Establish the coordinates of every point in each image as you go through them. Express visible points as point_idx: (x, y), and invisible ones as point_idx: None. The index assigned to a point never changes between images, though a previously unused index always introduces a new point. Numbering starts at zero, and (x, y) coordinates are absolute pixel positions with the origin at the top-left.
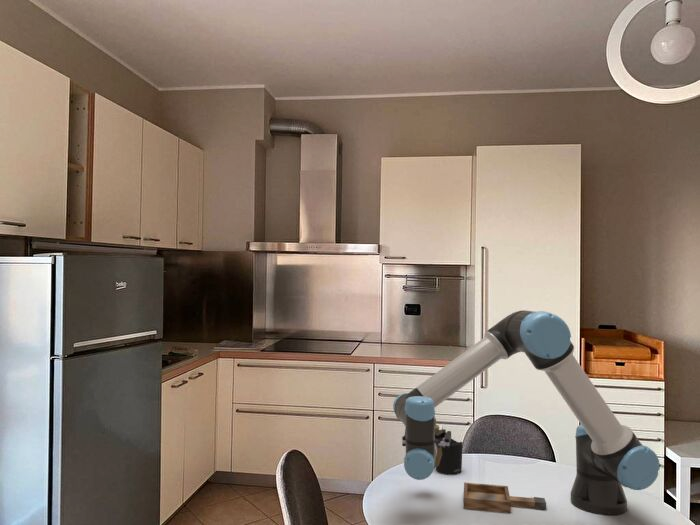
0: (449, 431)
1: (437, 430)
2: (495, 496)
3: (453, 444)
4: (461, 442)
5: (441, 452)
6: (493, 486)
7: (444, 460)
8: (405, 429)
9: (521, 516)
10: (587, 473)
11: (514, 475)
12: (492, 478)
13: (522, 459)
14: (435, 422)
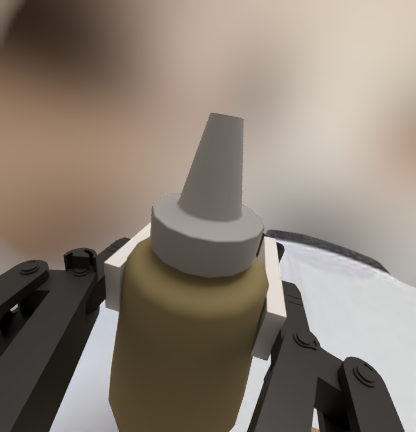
0: (373, 381)
1: (255, 318)
2: None
3: (261, 242)
4: (282, 247)
5: (243, 395)
6: None
7: None
8: (18, 265)
9: None
10: None
11: (365, 321)
12: (329, 332)
13: (349, 264)
14: (253, 255)
